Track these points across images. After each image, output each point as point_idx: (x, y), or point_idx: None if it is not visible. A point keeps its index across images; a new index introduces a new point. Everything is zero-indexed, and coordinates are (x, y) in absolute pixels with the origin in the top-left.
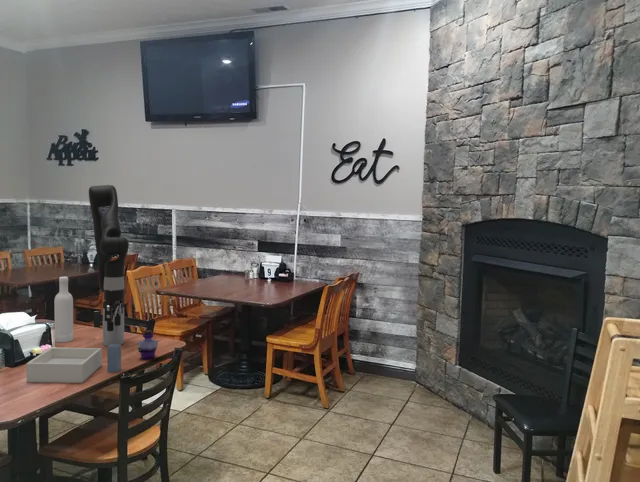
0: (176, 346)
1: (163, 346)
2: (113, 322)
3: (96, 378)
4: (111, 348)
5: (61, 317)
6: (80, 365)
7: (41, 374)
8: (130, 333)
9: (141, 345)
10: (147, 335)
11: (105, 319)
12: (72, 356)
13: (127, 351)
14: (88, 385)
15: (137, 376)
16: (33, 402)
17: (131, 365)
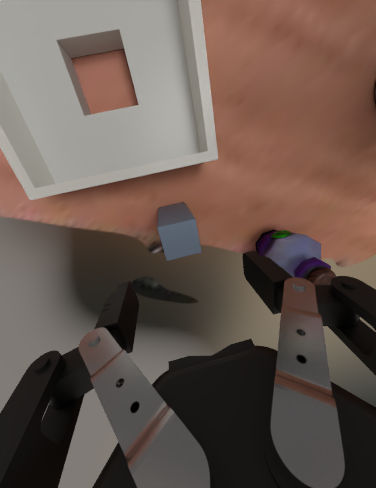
0: (348, 260)
1: (352, 235)
2: (131, 346)
3: (107, 208)
4: (161, 239)
5: None
6: (29, 192)
7: None
8: None
9: (271, 256)
10: None
11: (28, 379)
12: (184, 39)
13: (320, 169)
14: (57, 217)
15: (152, 281)
16: None
17: (215, 236)
